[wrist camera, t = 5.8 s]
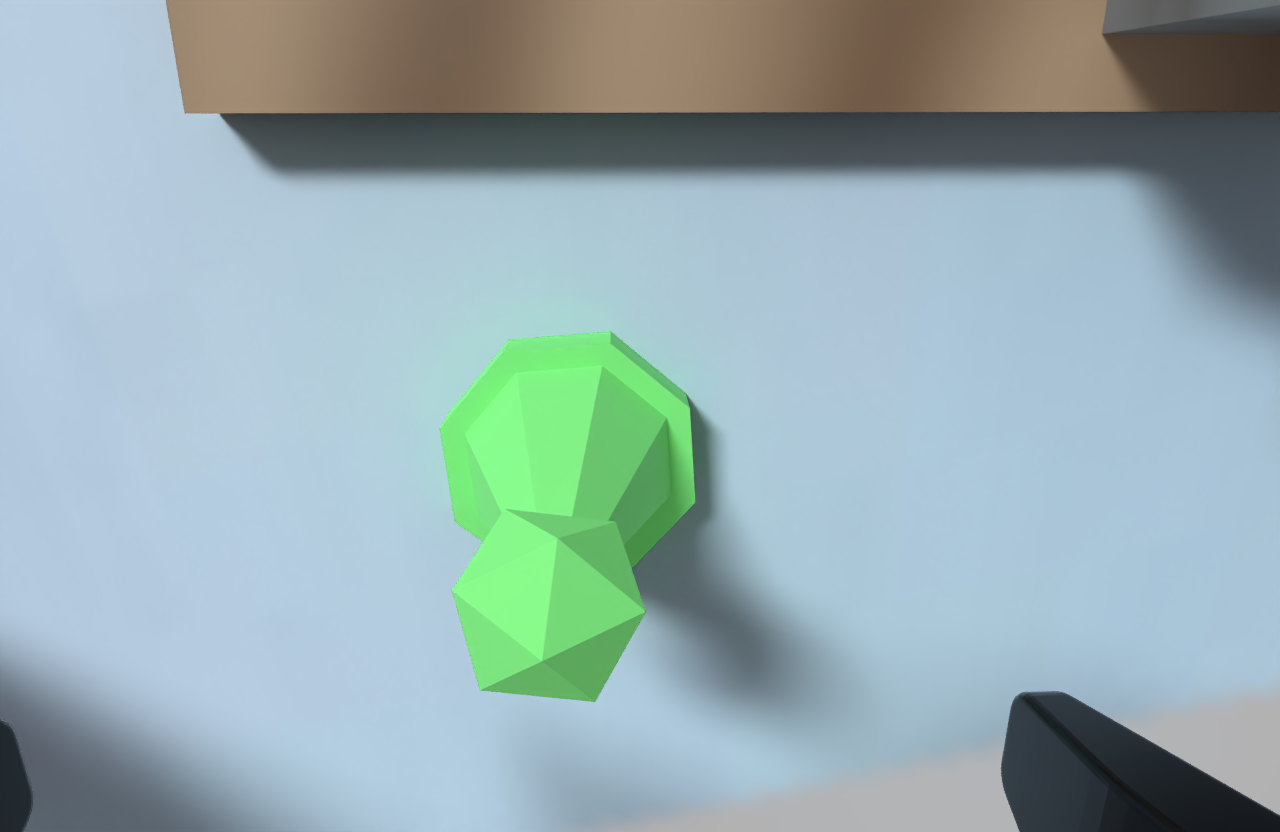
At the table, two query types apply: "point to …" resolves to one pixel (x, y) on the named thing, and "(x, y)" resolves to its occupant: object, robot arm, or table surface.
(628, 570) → the game piece
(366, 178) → the table surface
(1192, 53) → the switch board
